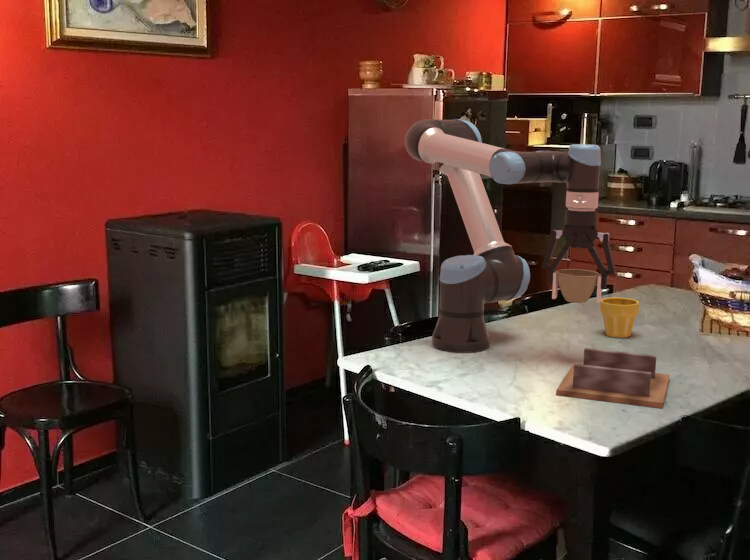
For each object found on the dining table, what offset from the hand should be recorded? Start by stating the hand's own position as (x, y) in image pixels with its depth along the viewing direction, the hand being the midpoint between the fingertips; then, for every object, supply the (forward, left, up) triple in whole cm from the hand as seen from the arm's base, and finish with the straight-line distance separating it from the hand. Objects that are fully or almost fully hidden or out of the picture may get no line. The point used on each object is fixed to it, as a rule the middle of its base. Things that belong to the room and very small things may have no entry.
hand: (576, 299), depth 210 cm
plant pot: (+7, +32, -16) cm, 36 cm away
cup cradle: (+12, -18, -16) cm, 27 cm away
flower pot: (0, 0, -1) cm, 1 cm away
